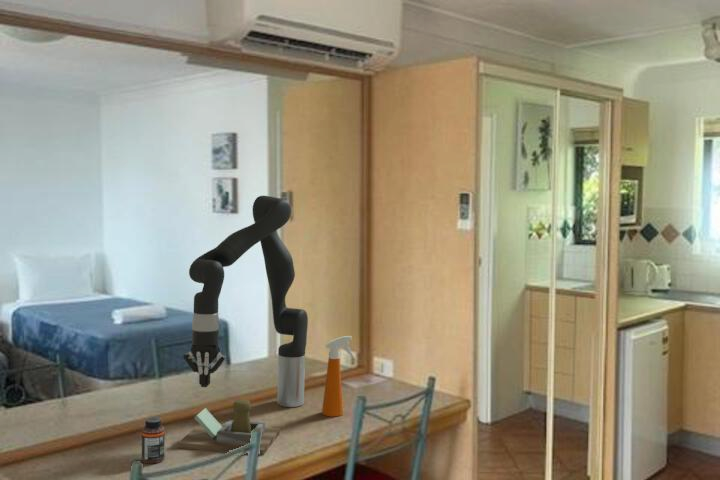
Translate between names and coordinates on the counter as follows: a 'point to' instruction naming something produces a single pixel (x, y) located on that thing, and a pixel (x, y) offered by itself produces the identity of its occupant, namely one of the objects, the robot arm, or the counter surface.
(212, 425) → the latch flap
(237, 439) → the holder board
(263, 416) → the counter surface
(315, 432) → the counter surface
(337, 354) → the spray bottle
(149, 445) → the supplement bottle
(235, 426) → the olive knobbed cylinder
